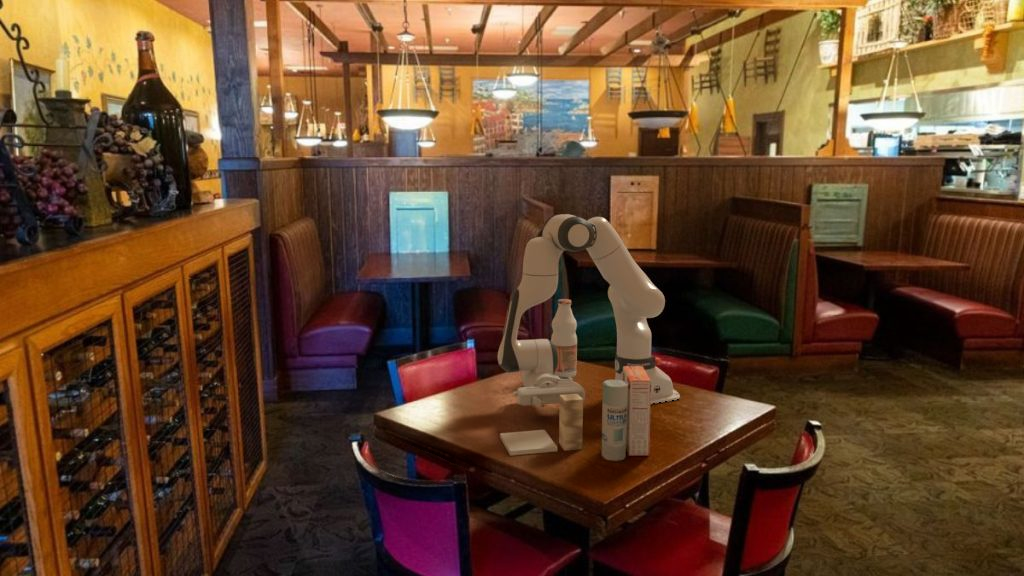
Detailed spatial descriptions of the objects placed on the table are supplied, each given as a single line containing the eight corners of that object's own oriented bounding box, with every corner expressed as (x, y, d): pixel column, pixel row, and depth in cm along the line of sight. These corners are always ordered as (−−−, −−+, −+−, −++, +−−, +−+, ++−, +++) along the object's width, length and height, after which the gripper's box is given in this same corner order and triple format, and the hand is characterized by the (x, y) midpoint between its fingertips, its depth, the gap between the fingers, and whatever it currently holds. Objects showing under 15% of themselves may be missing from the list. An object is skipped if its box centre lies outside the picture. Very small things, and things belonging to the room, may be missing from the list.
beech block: (576, 442, 196) (577, 393, 193) (582, 449, 191) (583, 399, 189) (559, 443, 195) (559, 394, 192) (564, 450, 190) (565, 400, 188)
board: (544, 433, 202) (544, 429, 202) (557, 451, 189) (557, 446, 189) (499, 437, 199) (499, 433, 199) (510, 455, 187) (510, 451, 186)
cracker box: (620, 436, 200) (622, 365, 196) (641, 436, 200) (644, 365, 196) (626, 456, 186) (628, 380, 182) (649, 456, 186) (652, 380, 182)
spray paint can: (605, 461, 183) (606, 387, 179) (598, 452, 189) (599, 380, 186) (629, 460, 184) (631, 386, 180) (621, 450, 190) (623, 378, 187)
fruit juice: (546, 376, 257) (547, 301, 253) (557, 370, 266) (558, 297, 261) (570, 380, 253) (571, 303, 248) (580, 373, 261) (581, 299, 256)
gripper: (511, 381, 214) (522, 395, 200) (576, 376, 218) (591, 390, 205) (511, 401, 215) (522, 416, 201) (576, 396, 219) (590, 411, 206)
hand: (557, 403), depth 203 cm, fingers open, 8 cm apart
